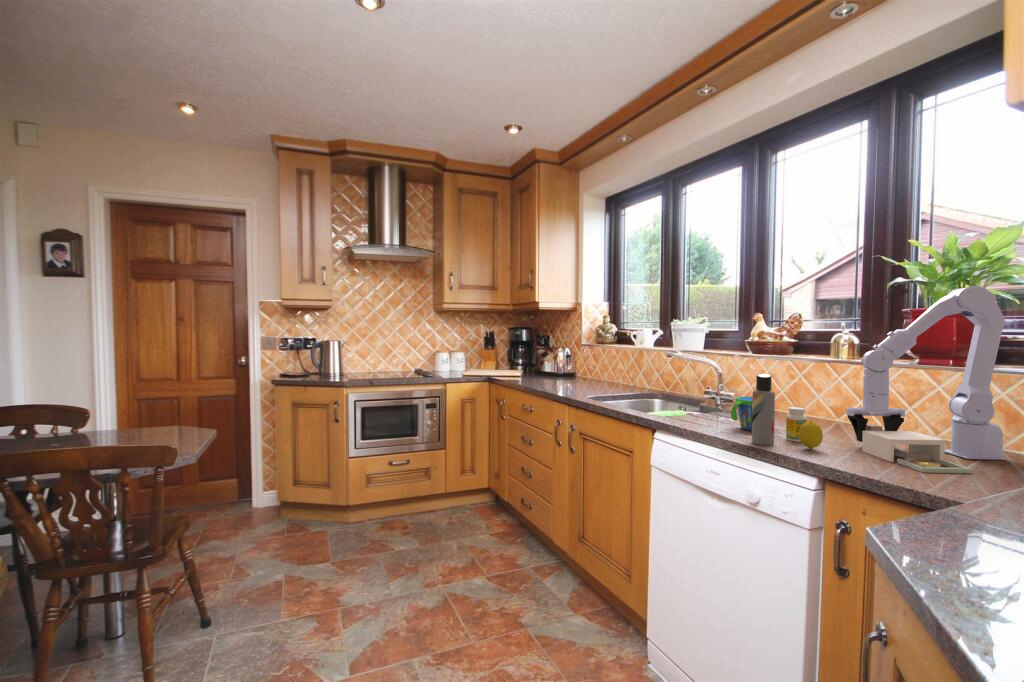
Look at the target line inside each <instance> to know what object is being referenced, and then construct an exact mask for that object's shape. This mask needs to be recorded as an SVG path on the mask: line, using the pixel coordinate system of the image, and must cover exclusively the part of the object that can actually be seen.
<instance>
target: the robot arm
mask: <svg viewBox="0 0 1024 682" xmlns="http://www.w3.org/2000/svg"><path fill="white" fill-rule="evenodd" d="M956 314H960V315H962V316H964V317H965V318H966V319H968V320H969V321H970V322H971V323H972V324H973V325H974V328H973V332H972V336H971V341H970V346H969V350H968V354H967V359H966V363H965V366H964V367H965V369H964V371H963V376H962V377H963V378H962V381H961V384H960V385H958V387H957V388H956V391H955V394H954V396H953V397H952V398H951V399H950V400H949V401H948V408H949V409H948V410H949V411H950V413H952V414H953V416H952V417H951V423H950V424H951V426H950V427H951V429H950V432H951V433H950V435H951V436H950V449H944V453H946V454H950V455H953V456H957V457H960V458H963V459H966V460H1001V461H1002V460H1004V461H1005V460H1006V457H1003V456H1004V455H1003V450H1004V448H1003V447H1004V434H1003V431H1002V429H1001V427H1000V426H999V425H998V424H996V423H994V422H990V421H991V420H992V419H993V418H994V416H995V411H996V410H995V407H994V405H993V400H994V396H993V393H992V391H991V388H990V386H991V382H992V377H993V374H994V369H995V365H996V360H997V357H998V352H999V347H1000V343H1001V339H1002V334H1003V330H1004V326H1005V316H1004V314H1003V312H1002V311H1001V309H1000V305H998V303H997V296H996V295H995V294H994V293H993V292H991V291H990V290H988V288H986V287H984V286H980V285H971V286H967V287H964V288H963V287H962V288H960V287H959V288H956V289H953V290H951V291H950V292H949V293H948V294H947V295H945V296H943V297H941V298H939V299H938V300H937V301H935V302H934V303H933V304H932V305H931V306H929V307H928V308H927V309H926V310H925V311H924V312H923V313H922V314H920V315H919V317H918V318H916V319H915V320H914V321H913V322H912V323H911V324H909V325H908V326H907V327H906V328H904V329H896V330H894V331H889V332H888V333H887V334H886V335H887V337H886V338H885V339H883V340H882V341H881V342H880V343H879V344H874V345H873V346H872V348H873V349H874V350H873V349H872V350H869V351H867V352H865V353H864V354H863V355H862V359H860V362H861V365H862V366H863V370H864V371H863V381H862V382H863V384H862V407H860V406H859V407H846V410H845V411H846V413H845V414H846V415H847V419H848V420H849V421H850V424H851V425H852V428H853V430H854V433H855V438H856V441H858V442H860V443H862V437H863V431H865V429H866V425H867V424H868V421H869V419H868V418H865V416H866V417H867V416H869V417H870V416H871V417H880V416H881V418H882V421H883V427H884V431H899V428H900V427H901V426H902V424H903V423H904V422H905V418H904V417H906V409H903V408H893V407H892V408H891V407H890V406H889V405H890V400H889V399H890V376H889V375H890V369H891V368H892V367H893V365H894V361H896V360H898V359H899V358H900V357H902V356H903V355H904V354H905V353H907V352H908V351H909V350H911V349H912V348H913V347H914V346H916V345H917V337H919V336H920V335H921V334H923V333H925V331H927V330H928V329H930V328H931V327H932V326H934V325H935V324H936V323H938V322H939V321H941V320H942V319H943V318H944V317H947V316H952V315H956Z"/></svg>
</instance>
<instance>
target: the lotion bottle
mask: <svg viewBox="0 0 1024 682" xmlns="http://www.w3.org/2000/svg"><path fill="white" fill-rule="evenodd" d="M755 383H756V385H755V390H752V397H753V398H752V431H751V443H753V444H754V445H758V446H767V447H769V446H773V445H774V444H775V416H776V411H775V410H776V409H775V408H776V407H775V406H776V404H775V403H776V402H775V401H776V393H775V392H774V390H773V391H772V375H770V374H767V373H761V374H757V375H756V381H755Z"/></svg>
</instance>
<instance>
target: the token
mask: <svg viewBox="0 0 1024 682" xmlns="http://www.w3.org/2000/svg"><path fill="white" fill-rule="evenodd" d="M913 464H916V465H919V466H922V467H942V464H940V463H939V462H937V461H934V460H930V461H929V460H921V459H916V460H914V463H913Z"/></svg>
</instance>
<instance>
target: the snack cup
mask: <svg viewBox="0 0 1024 682" xmlns="http://www.w3.org/2000/svg"><path fill="white" fill-rule="evenodd" d="M752 398H753V396H737V397H736V398H735V402H734V404H733V405H732V407H731V412H730V416H731V419H732V420H733V421H738V419H739V426H740V427H741V429H743V430H745V431H746V430H747V431H751V432H752ZM737 410H738V411H737ZM737 412H738V413H737Z"/></svg>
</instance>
